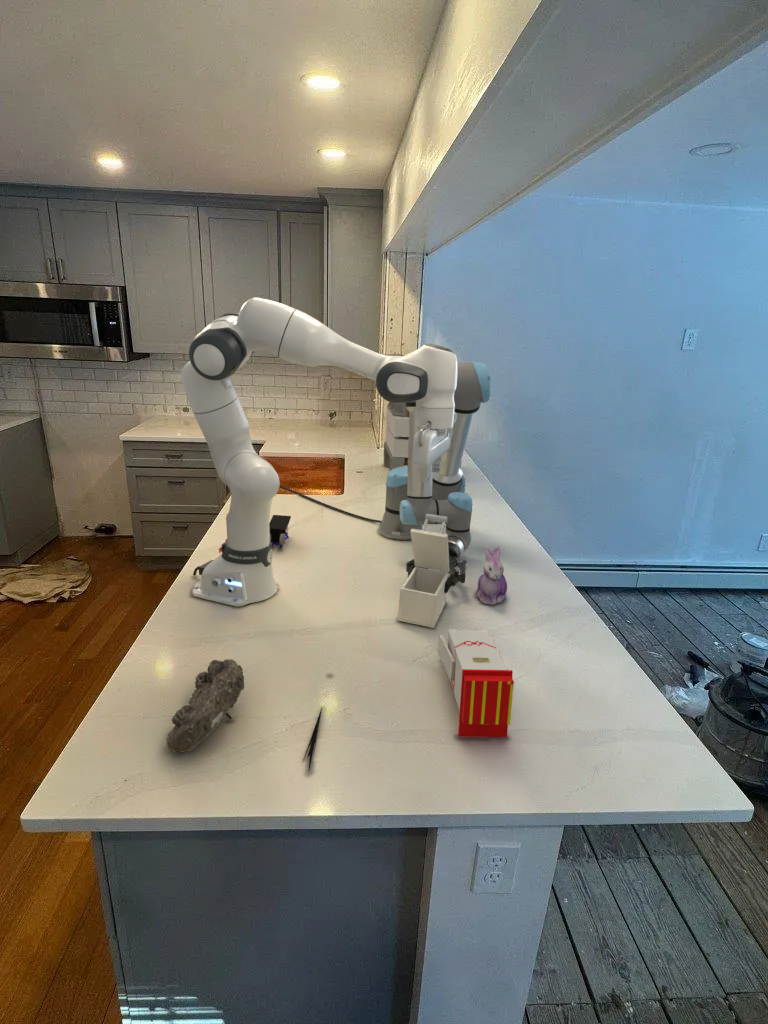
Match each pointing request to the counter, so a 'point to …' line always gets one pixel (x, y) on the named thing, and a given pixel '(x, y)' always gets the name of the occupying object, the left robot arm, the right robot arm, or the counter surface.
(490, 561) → the figurine
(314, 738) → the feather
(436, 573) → the chest
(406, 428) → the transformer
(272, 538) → the figurine character
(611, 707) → the counter surface
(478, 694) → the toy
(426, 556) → the lid
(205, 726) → the fossil
